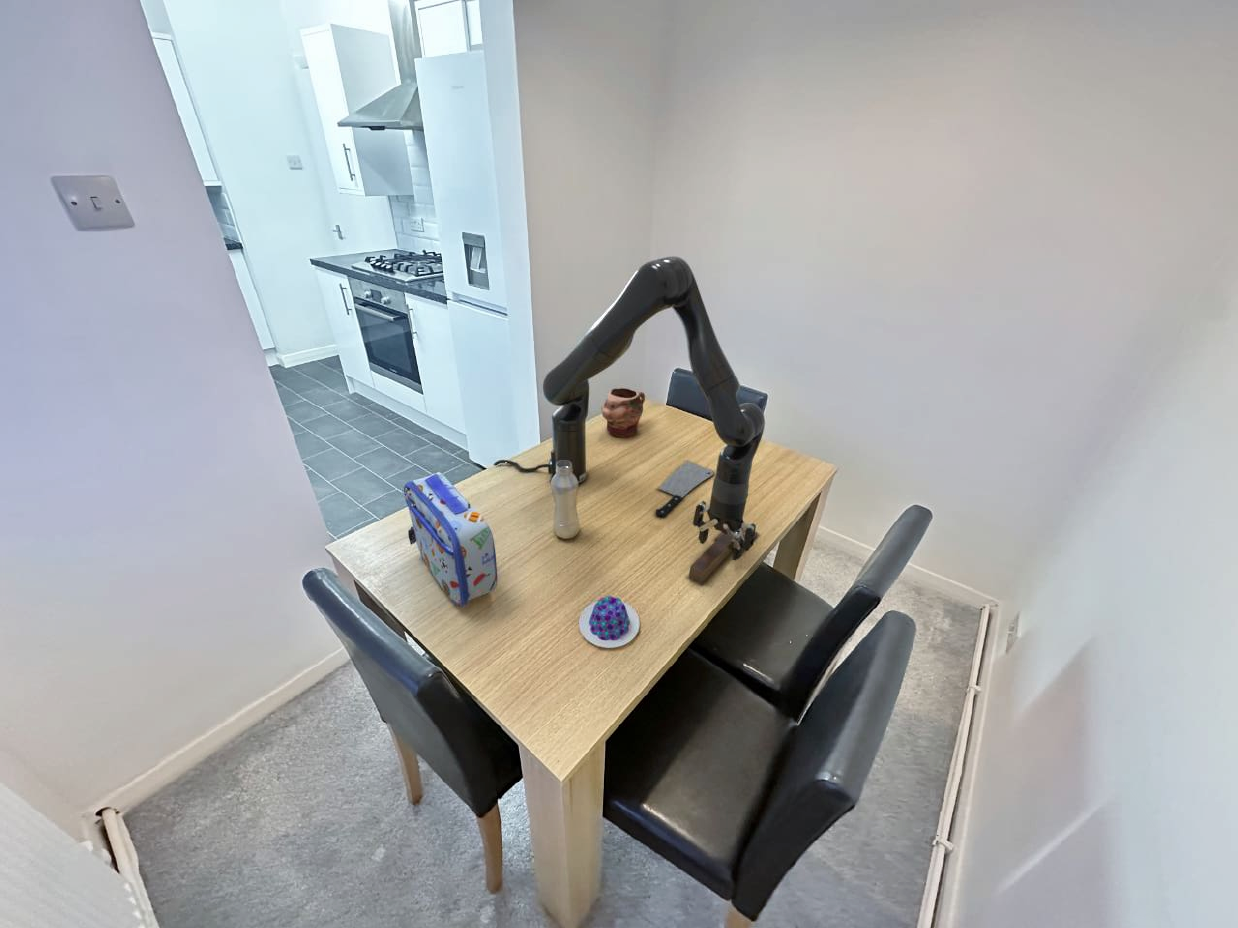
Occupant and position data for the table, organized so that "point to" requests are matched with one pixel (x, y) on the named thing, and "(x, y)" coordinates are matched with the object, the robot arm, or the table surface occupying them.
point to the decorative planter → (623, 411)
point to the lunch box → (451, 538)
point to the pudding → (609, 622)
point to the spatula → (712, 557)
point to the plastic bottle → (565, 500)
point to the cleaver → (682, 484)
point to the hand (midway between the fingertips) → (719, 550)
